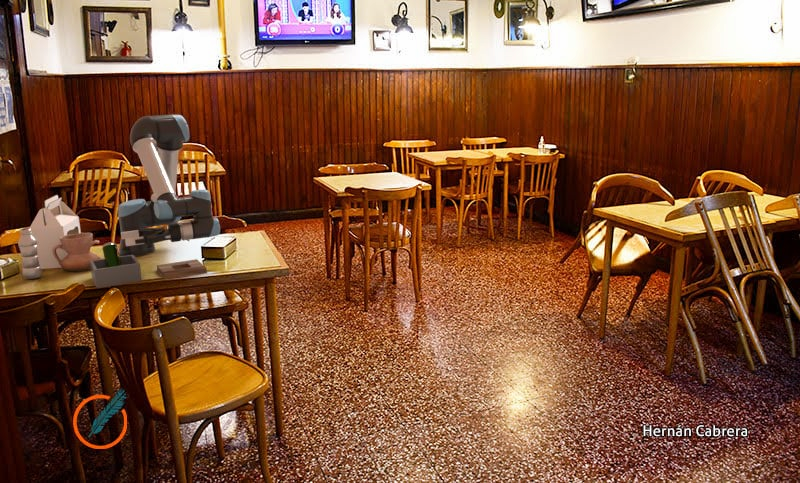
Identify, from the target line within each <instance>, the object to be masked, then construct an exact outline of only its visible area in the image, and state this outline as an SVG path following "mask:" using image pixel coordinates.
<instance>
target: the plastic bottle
mask: <svg viewBox="0 0 800 483" xmlns="http://www.w3.org/2000/svg"><path fill="white" fill-rule="evenodd" d="M19 233H20V235H21V236H20V237H19V239H18V243H17V244H18V248H19V251H20V255H21V259H22V275H23V278H24V279H25V280H35V279H38V278H41V277H42V274H43V269H41V267H40V264H39V260H38V255H37V254H38V253H37V240H36V238H35V237H34V236H32V235H31V233H32V232H31V228H30V227H26V228H25V227H24V228H20V230H19Z"/></svg>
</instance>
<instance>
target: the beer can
mask: <svg viewBox="0 0 800 483" xmlns="http://www.w3.org/2000/svg"><path fill="white" fill-rule="evenodd" d="M102 253H103V257H104V259H105V262H106V266H107V268H108V267H115V266H121V260H120V256H121V255H120V254H119V247H118V245H117V243H116V242H113V241H112V242H111V241H110V242H106V243H104V244H103V245H102Z"/></svg>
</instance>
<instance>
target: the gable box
mask: <svg viewBox="0 0 800 483" xmlns="http://www.w3.org/2000/svg"><path fill="white" fill-rule="evenodd" d="M29 228H31V232H32V233H31V235H32V236H34V237H35V238H36V240H37V253H38V254H37V255H38V260H39V264H40V267H41V270H44V269H45V270H46V269H61V268H62V267H61V266H60V265H59V262H58V261H57V259H56V258H55V257H54V255H53V252H52V249H53V247H54V246H55V245H58V244H60V245H62V244H61V241H60V237H61V236H65V235H70V234H78V233H82V232H81V224H80V217H79V216H78V215H77V214H76V213H75V212H74V211H73V210H72V209H71V208H70V207H69V206H68V205H67V204H66V203H65V202H64V201H62V196H61V197H59V195H58V194H55V195H53V196H51V197H49V198H47V199H45V200H44V201H43V208H41V209H39V211H38V212H37V214H36V216H35V217H34V219H33V221H32V223H31V225H30V226H29ZM56 253H57V255H58V257H59V259H60V260H61V261H62V260H63V259H64V258H65V257H66V256H67V255H68V254H67V252H66V251H65V250H63V249H61V248H57V249H56ZM62 269H63V268H62Z"/></svg>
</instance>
